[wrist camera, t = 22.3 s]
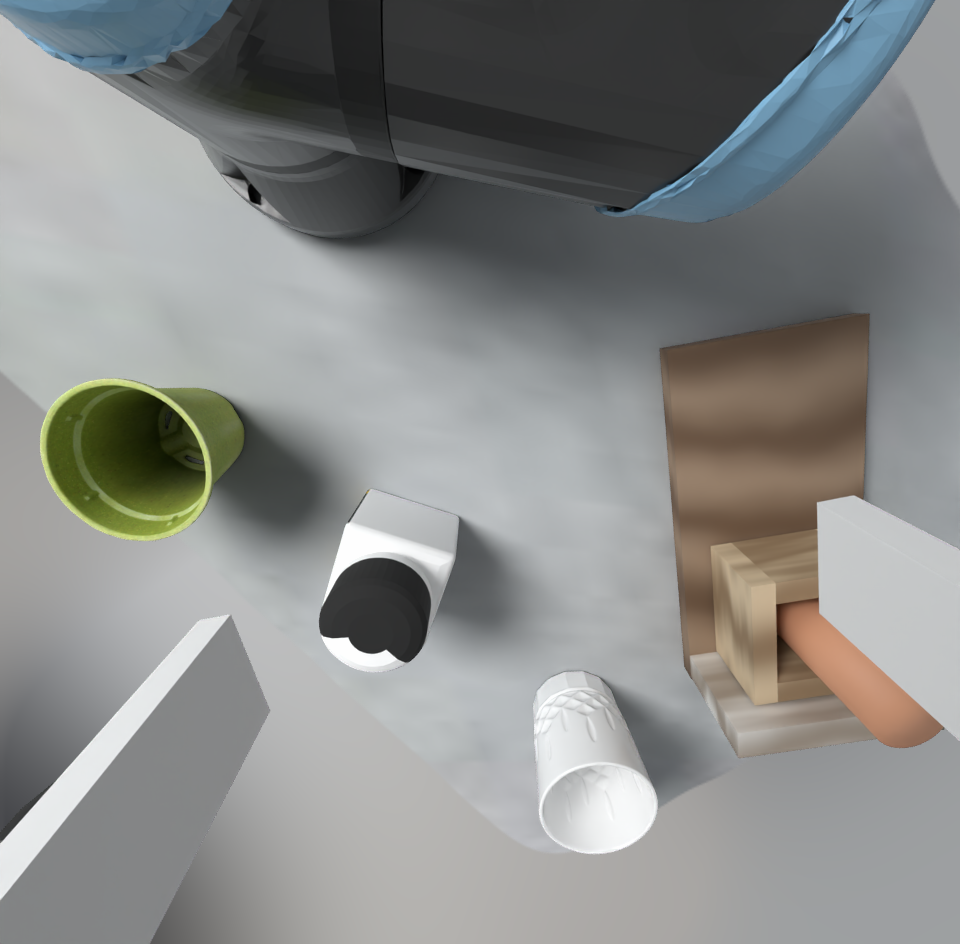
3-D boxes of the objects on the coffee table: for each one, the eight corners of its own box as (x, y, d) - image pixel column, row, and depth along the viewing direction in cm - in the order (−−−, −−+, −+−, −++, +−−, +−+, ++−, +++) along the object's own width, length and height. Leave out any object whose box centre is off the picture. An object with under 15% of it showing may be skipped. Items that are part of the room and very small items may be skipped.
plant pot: (282, 388, 37) (224, 410, 28) (255, 508, 39) (195, 561, 31) (147, 345, 36) (47, 354, 28) (129, 470, 38) (32, 514, 30)
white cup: (621, 662, 43) (662, 761, 34) (617, 739, 46) (654, 853, 36) (525, 665, 43) (539, 764, 34) (526, 742, 46) (539, 856, 36)
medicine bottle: (368, 486, 39) (322, 558, 27) (460, 515, 40) (453, 598, 28) (344, 568, 41) (291, 669, 29) (432, 595, 41) (414, 703, 30)
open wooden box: (710, 546, 38) (751, 587, 33) (836, 525, 38) (899, 563, 32) (716, 650, 41) (755, 705, 35) (834, 632, 41) (892, 685, 35)
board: (659, 348, 36) (720, 360, 27) (853, 313, 35) (983, 313, 26) (684, 666, 43) (738, 760, 34) (845, 642, 43) (944, 732, 34)
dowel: (747, 617, 40) (872, 754, 28) (743, 571, 39) (871, 693, 27) (800, 606, 40) (949, 739, 28) (797, 559, 39) (951, 677, 27)
